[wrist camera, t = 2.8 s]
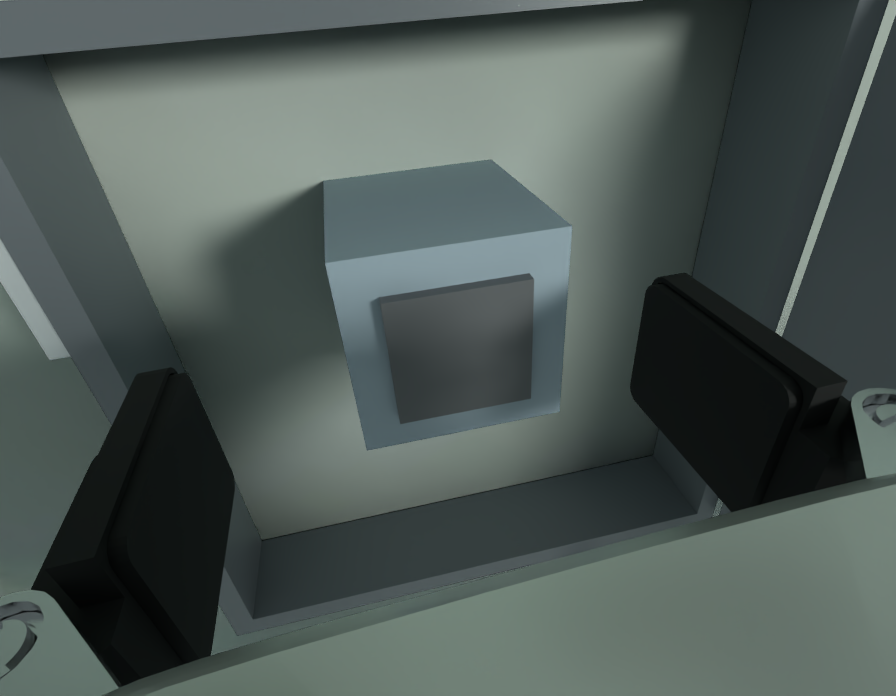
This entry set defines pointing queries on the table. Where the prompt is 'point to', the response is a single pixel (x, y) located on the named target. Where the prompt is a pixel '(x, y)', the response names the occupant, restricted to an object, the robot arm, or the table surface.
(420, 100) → the table surface
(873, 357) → the lid
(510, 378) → the module
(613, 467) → the case
